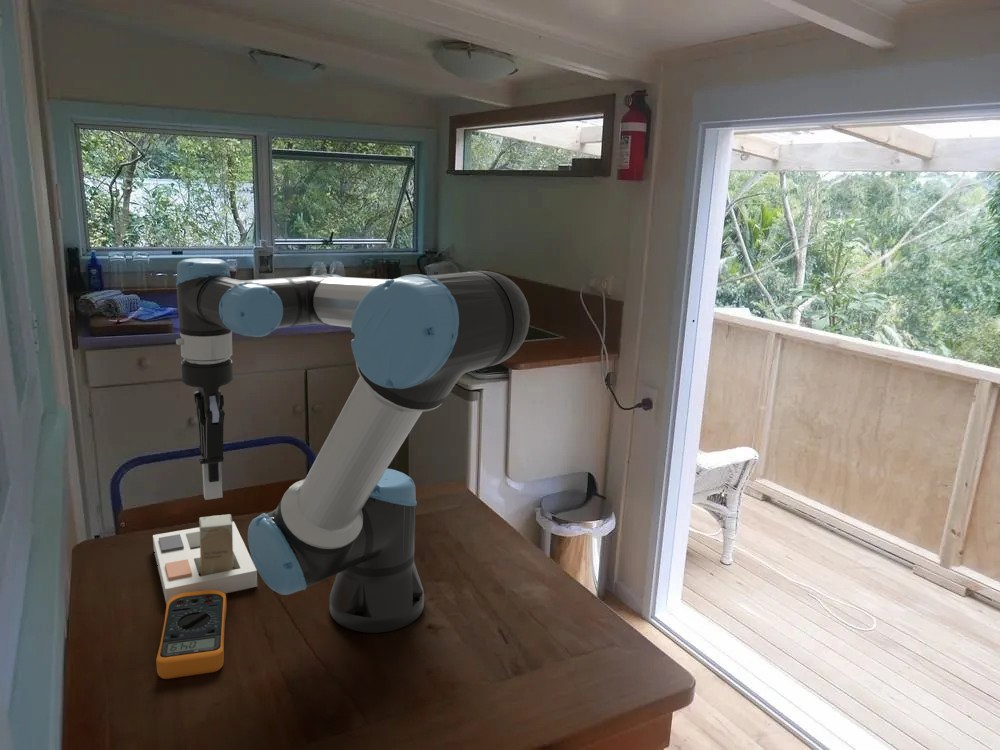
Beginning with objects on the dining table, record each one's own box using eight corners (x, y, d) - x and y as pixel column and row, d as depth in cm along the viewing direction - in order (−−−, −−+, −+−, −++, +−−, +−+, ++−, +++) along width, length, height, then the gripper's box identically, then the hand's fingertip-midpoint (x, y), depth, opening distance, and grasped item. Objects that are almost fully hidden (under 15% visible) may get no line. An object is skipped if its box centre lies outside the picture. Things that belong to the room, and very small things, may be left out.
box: (201, 588, 122) (198, 527, 120) (200, 576, 126) (197, 516, 123) (235, 583, 125) (232, 523, 122) (233, 571, 128) (230, 512, 126)
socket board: (257, 586, 124) (256, 567, 123) (166, 605, 117) (165, 586, 116) (234, 535, 141) (233, 519, 140) (153, 550, 134) (152, 532, 133)
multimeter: (227, 604, 119) (226, 585, 118) (223, 674, 103) (222, 653, 102) (169, 611, 116) (168, 592, 115) (156, 684, 100) (154, 662, 99)
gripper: (175, 350, 119) (183, 485, 125) (186, 370, 108) (194, 517, 114) (224, 347, 123) (229, 479, 129) (240, 366, 112) (244, 509, 118)
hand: (213, 496), depth 122 cm, fingers closed
